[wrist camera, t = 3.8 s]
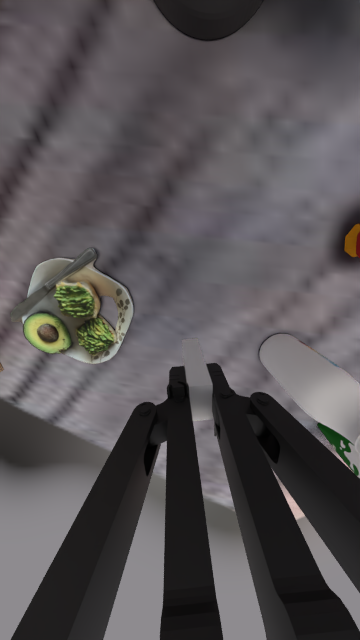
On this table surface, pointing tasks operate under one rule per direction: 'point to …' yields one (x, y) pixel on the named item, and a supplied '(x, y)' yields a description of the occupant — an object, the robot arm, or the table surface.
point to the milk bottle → (315, 384)
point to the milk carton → (343, 448)
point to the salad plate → (73, 310)
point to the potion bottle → (353, 241)
